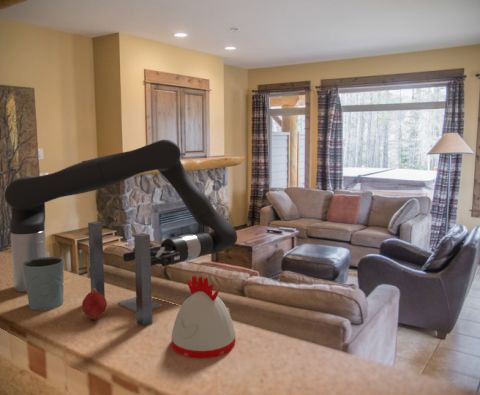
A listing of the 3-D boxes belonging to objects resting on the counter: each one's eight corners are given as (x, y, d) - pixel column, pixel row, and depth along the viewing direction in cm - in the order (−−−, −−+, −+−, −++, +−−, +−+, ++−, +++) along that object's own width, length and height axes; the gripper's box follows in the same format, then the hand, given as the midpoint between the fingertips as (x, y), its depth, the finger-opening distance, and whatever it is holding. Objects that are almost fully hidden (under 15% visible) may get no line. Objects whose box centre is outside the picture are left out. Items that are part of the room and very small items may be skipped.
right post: (137, 323, 108) (134, 234, 105) (145, 320, 109) (143, 233, 106) (143, 326, 106) (140, 236, 103) (152, 323, 108) (149, 234, 105)
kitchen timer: (200, 324, 107) (199, 264, 105) (247, 339, 99) (247, 274, 97) (158, 346, 96) (156, 279, 94) (207, 365, 88) (206, 292, 86)
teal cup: (45, 313, 113) (43, 268, 112) (16, 308, 117) (13, 264, 116) (74, 300, 123) (71, 258, 121) (46, 295, 126) (43, 254, 125)
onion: (77, 321, 109) (76, 290, 108) (95, 313, 114) (93, 283, 113) (94, 326, 106) (93, 293, 105) (112, 317, 111) (111, 286, 110)
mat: (117, 303, 120) (117, 302, 120) (139, 297, 125) (139, 295, 125) (139, 313, 113) (139, 311, 113) (161, 306, 119) (161, 304, 118)
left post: (91, 300, 122) (88, 222, 120) (100, 298, 124) (96, 221, 121) (96, 303, 121) (92, 223, 118) (104, 300, 123) (101, 222, 120)
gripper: (165, 232, 132) (117, 242, 121) (197, 239, 123) (148, 251, 111) (166, 257, 133) (119, 269, 122) (197, 265, 124) (149, 280, 112)
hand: (133, 260), depth 116 cm, fingers open, 8 cm apart
